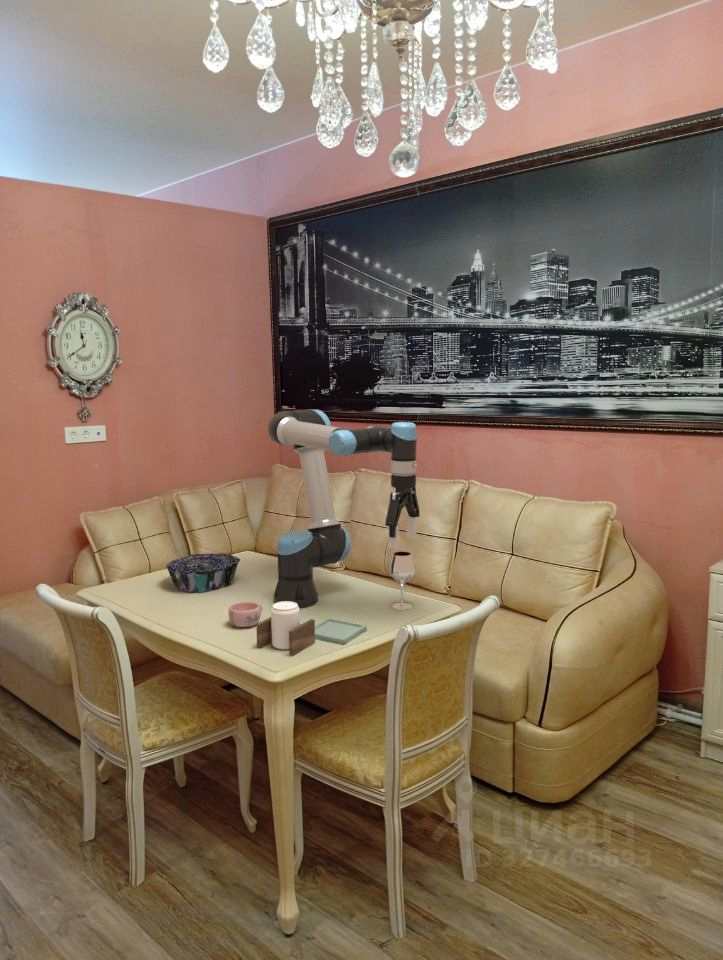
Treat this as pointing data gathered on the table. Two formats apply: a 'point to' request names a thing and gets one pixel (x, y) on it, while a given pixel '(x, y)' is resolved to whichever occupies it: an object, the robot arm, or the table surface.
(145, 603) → the table surface
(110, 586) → the table surface
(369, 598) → the table surface
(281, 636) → the beverage can
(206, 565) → the decorative bowl
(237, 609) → the pink bowl
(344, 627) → the tray
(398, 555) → the wineglass
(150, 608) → the table surface
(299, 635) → the wooden boards
